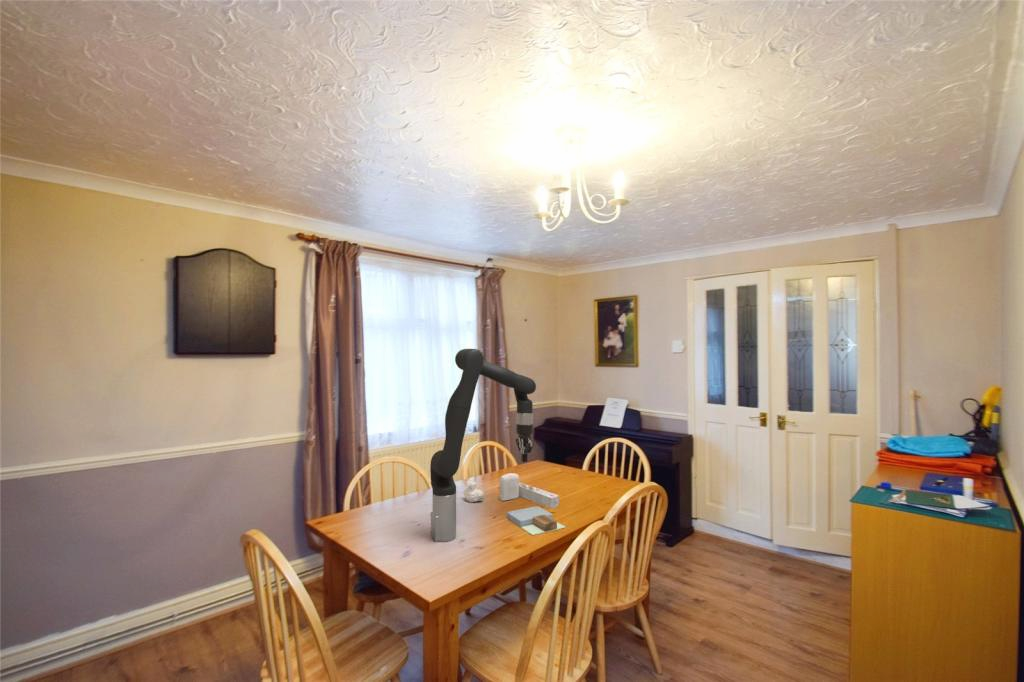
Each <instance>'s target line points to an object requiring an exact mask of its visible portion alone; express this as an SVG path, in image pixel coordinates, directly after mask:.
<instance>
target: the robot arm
mask: <svg viewBox="0 0 1024 682" xmlns="http://www.w3.org/2000/svg"><path fill="white" fill-rule="evenodd" d="M454 363H455V365H456V366H457V367H458V368H459V369H460V370H462V373H461V378H460V381H459V383H458V384H457V387H456V388H455V389H454V392H452V395H451V396H450V398H449V401H448V403H447V408H446V411H445V417H444V426H445V427H444V428H445V439H444V444H443V448H442V450H441V449H440V450H437V451H436V452H435V453H434V454H433V455H432V457H431V459H430V467H429V468H430V470H429V471H430V484H431V490H432V511H431V512H430V537H431V539H433V541H434V542H436V543H438V542H450V541H452V540H455V539H456V538H457V485H456V482H455V480H454V475H456V474H457V472H458V470H459V467H460V462H461V454H462V448H463V442H464V439H465V438H464V437H465V433H466V431H467V430H466V429H467V425H468V420H469V417H470V413H471V408H472V403H473V400H474V396H475V391H476V387H477V384H478V380H479V378H480V376H482V377H486V378H488V379H490V380H492V381H494V382H497V383H498V384H500V385H502V386H505V387H508V388H511V389H513V392H514V397H515V402H516V420H515V421H516V422H515V423H516V425H515V426H516V427H515V428H516V429H515V433H516V434H517V438H515V442H516V447H517V449H518V452H520V454H521V462H522V463H527V462H528V454H530V453H531V452H532V450H533V448H534V446H535V443H534V442H532V438H531V435H532V434H534V415H533V412H534V411H533V408H534V407H533V401H532V399H530V398H529V397H528V395H532V394H534V393H535V392H536V389H537V384H536V382H535V381H534V379H532V378H530V377H527V376H526V375H525V376H524V375H522V374H519V373H517V372H514V371H513V370H510V369H508V368H506V367H504V366H501V365H499V364H494V363H492V362H490V361H486V360H485V359H484V355H483V353H482V351H481V350H480V349H477V348H462V349H460V350H459V351H457V353H456V355H455V357H454Z"/></svg>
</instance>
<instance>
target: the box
mask: <svg viewBox="0 0 1024 682" xmlns="http://www.w3.org/2000/svg"><path fill="white" fill-rule="evenodd" d="M519 498H522V499H525V500H528V501H530V502H533V503H536V504H538V505H541V506H544V507H546V508H549V509H551V510H552V509H555V508H557V507H560V495H558V494H557V493H554V492H553V493H552V492H550V491H547V490H544V489H543V488H542V489H541V488H540V487H539V488H538V487H535V486H532V485H530V484H527V483H524V482H519Z"/></svg>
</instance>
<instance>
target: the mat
mask: <svg viewBox="0 0 1024 682" xmlns="http://www.w3.org/2000/svg"><path fill="white" fill-rule="evenodd" d="M520 528H521V529H523V531H525V532H527V533H528V534H529V535H531V536H536V535H541V534H544V533H549V532H553V531H558V530H563V529H566V526H565V525H563V524H562V523H560V522H558V521H557V529H554V530H550V531H546V532H544V531H543V530H541V529H539V528H538V527H536V526H534V525H533V524H532V525H528V526H523V527H520ZM562 528H563V529H562Z"/></svg>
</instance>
